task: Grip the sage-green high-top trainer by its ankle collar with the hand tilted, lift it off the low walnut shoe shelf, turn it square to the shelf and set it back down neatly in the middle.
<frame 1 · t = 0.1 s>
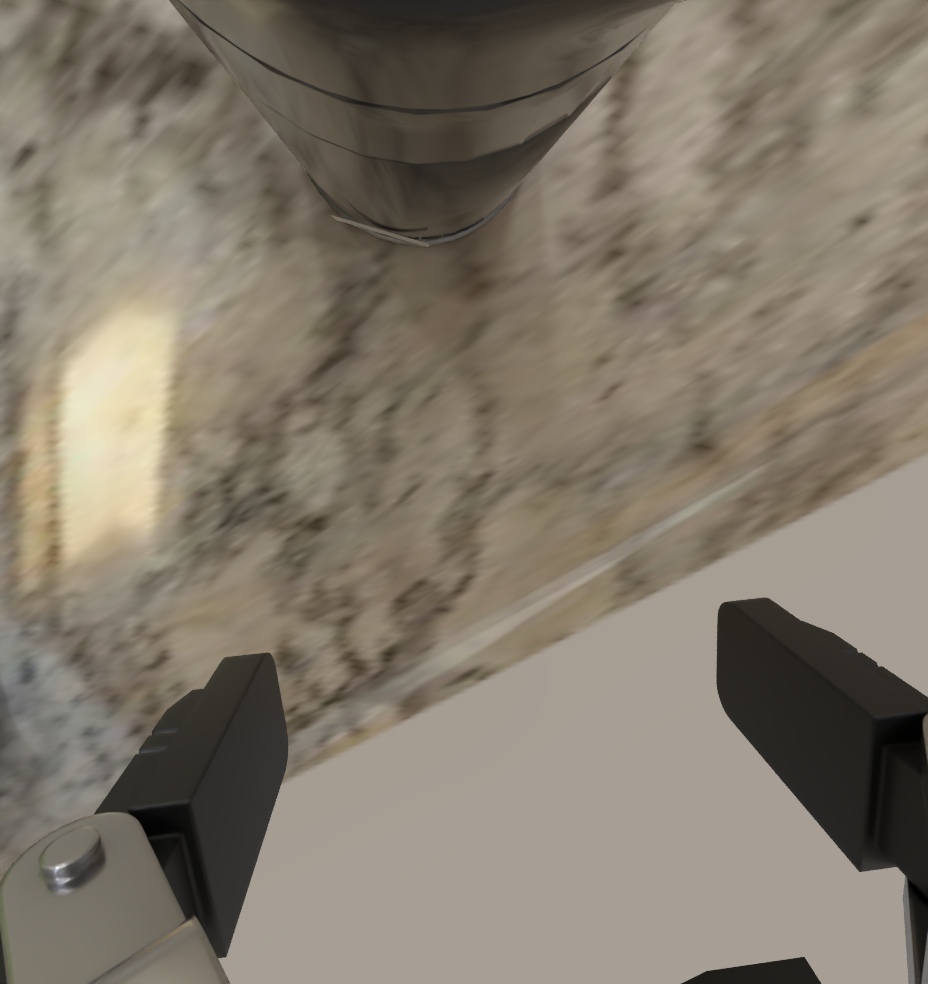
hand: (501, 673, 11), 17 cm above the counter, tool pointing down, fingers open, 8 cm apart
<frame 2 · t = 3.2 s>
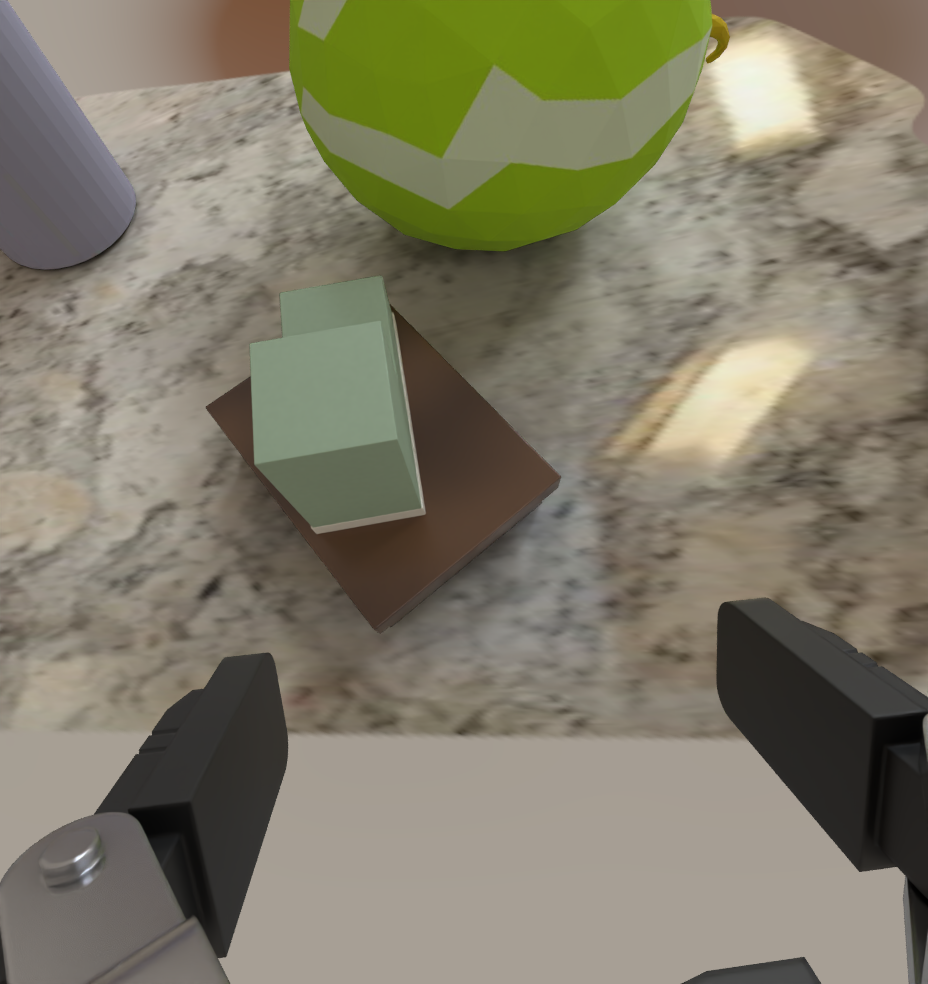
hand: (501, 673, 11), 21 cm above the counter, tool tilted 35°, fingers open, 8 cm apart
trainer: (359, 421, 32), point 4 cm above the counter, touching shoe shelf
melon: (512, 205, 43), on the counter
shoe shelf: (388, 470, 35), on the counter
container: (71, 220, 45), on the counter
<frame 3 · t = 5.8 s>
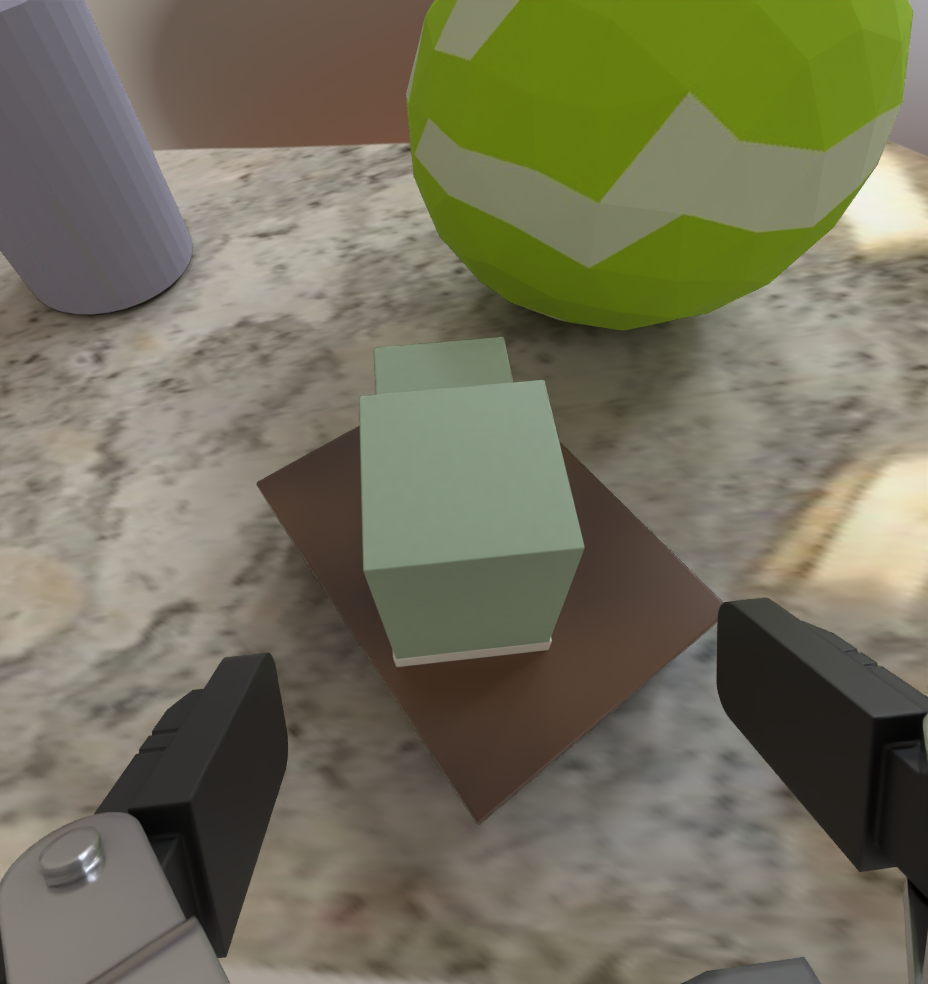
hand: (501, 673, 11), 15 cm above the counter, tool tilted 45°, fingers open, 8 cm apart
trainer: (456, 515, 25), point 4 cm above the counter, touching shoe shelf
melon: (616, 288, 38), on the counter
shoe shelf: (476, 580, 27), on the counter
container: (116, 266, 40), on the counter
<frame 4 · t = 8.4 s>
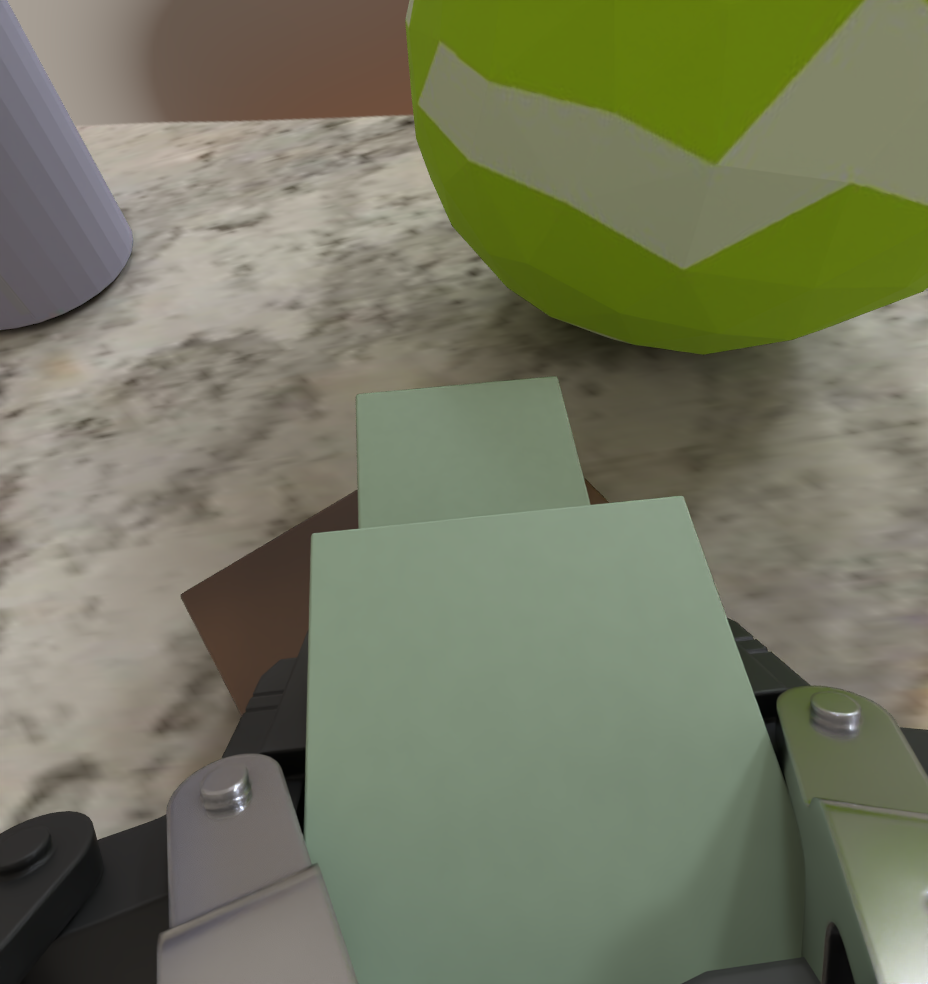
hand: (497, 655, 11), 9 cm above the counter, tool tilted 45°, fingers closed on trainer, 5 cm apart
trainer: (483, 651, 16), point 4 cm above the counter, touching gripper, shoe shelf
melon: (677, 294, 29), on the counter
shoe shelf: (509, 726, 19), on the counter
container: (35, 268, 31), on the counter
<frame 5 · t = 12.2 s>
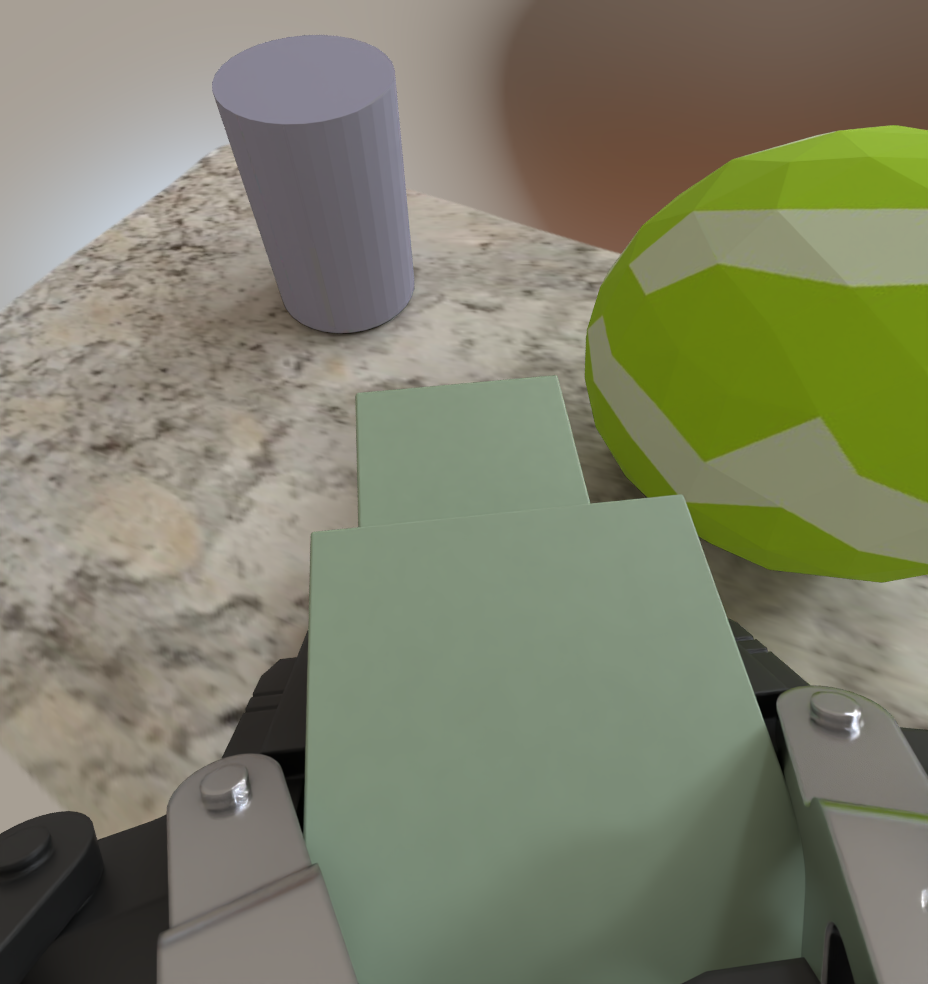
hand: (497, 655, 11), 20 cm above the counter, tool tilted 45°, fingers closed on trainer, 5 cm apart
trainer: (483, 650, 16), point 16 cm above the counter, touching gripper
melon: (757, 488, 37), on the counter
container: (349, 291, 47), on the counter
when the fingers open (9 cm above the counter, at t = 15.9 s): trainer stays where it is, resting on shoe shelf.
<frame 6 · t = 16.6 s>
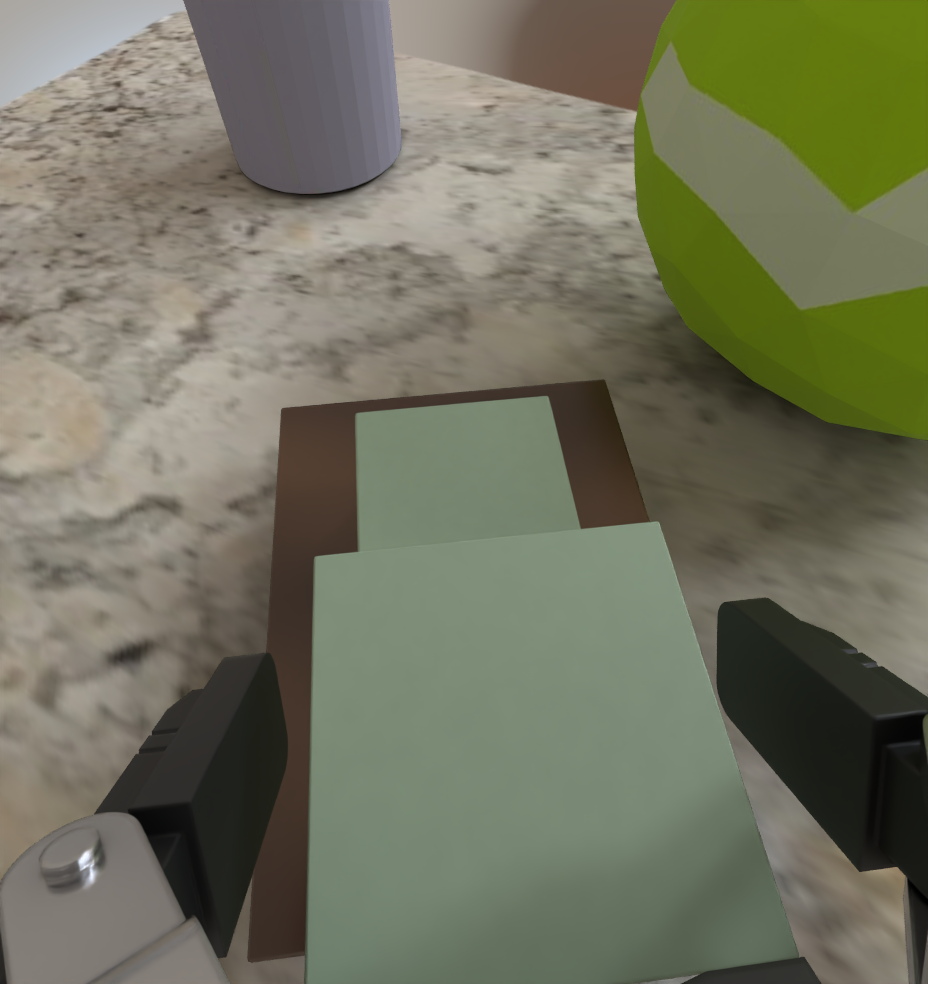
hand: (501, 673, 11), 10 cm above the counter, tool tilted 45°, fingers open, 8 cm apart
trainer: (477, 659, 17), point 4 cm above the counter, touching shoe shelf
melon: (852, 369, 28), on the counter
shoe shelf: (470, 638, 21), on the counter
container: (321, 154, 38), on the counter
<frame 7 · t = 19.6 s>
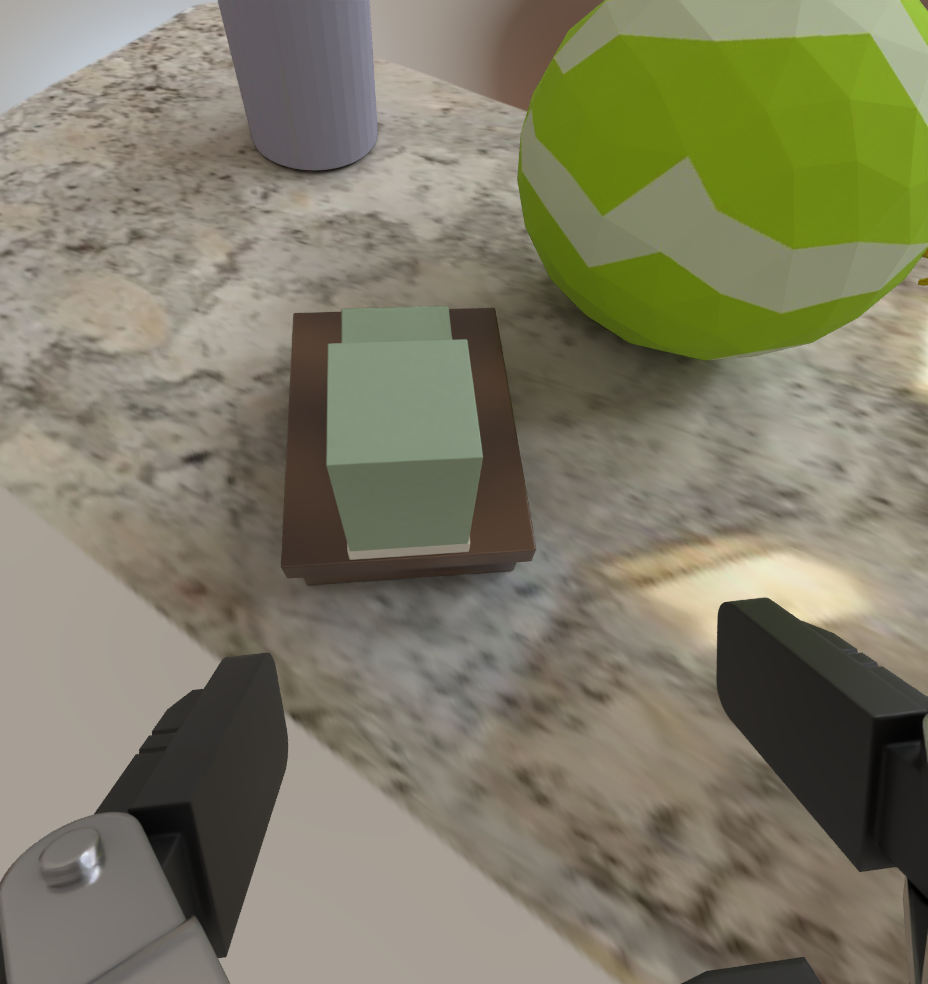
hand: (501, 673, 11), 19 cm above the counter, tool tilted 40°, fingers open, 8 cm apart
trainer: (403, 449, 31), point 4 cm above the counter, touching shoe shelf
melon: (668, 317, 42), on the counter
shoe shelf: (404, 459, 35), on the counter
container: (316, 138, 50), on the counter
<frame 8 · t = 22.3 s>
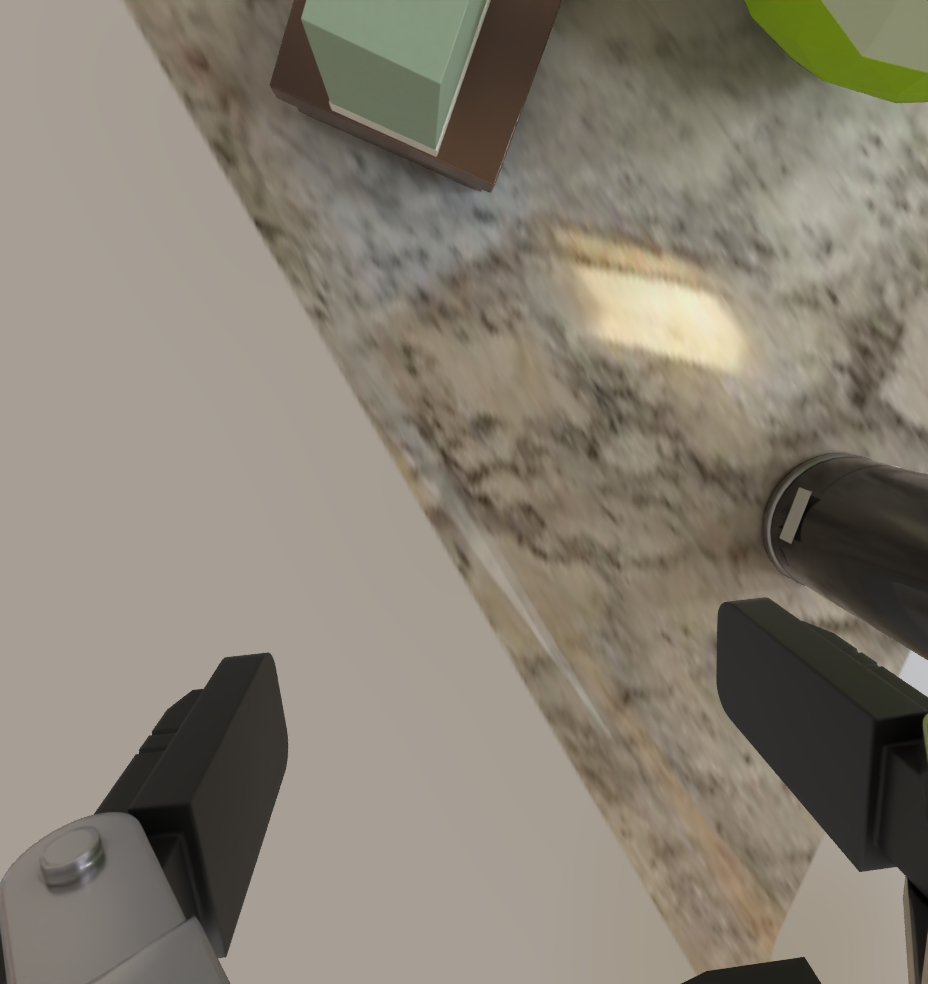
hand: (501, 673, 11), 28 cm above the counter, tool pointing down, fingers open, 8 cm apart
trainer: (425, 7, 29), point 4 cm above the counter, touching shoe shelf
shoe shelf: (438, 12, 32), on the counter
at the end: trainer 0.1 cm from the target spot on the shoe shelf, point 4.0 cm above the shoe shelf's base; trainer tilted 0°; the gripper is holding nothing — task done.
